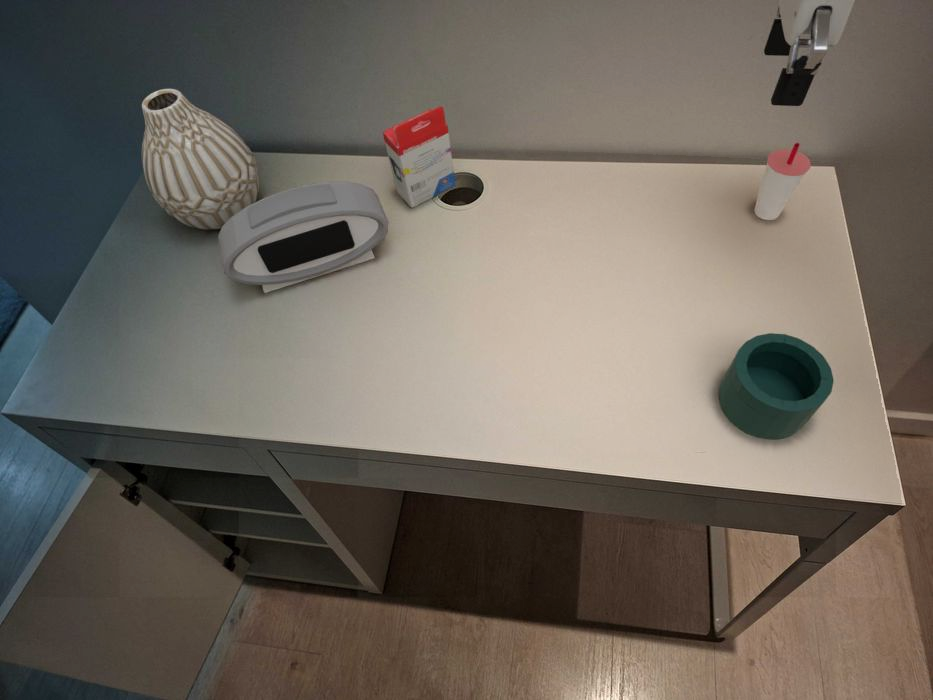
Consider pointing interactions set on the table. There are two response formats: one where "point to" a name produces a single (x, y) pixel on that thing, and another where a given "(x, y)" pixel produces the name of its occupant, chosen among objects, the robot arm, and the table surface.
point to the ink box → (421, 156)
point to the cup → (780, 181)
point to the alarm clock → (302, 234)
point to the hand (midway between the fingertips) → (781, 78)
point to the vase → (195, 162)
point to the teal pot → (774, 386)
